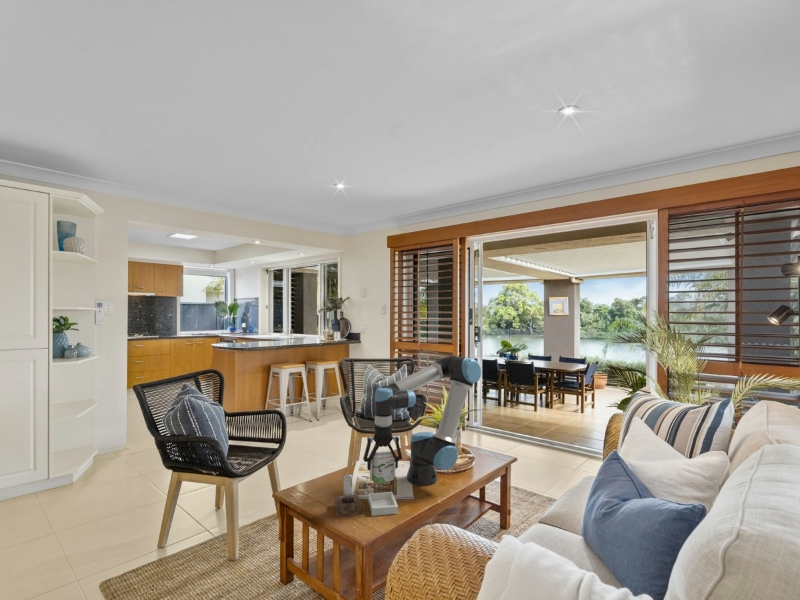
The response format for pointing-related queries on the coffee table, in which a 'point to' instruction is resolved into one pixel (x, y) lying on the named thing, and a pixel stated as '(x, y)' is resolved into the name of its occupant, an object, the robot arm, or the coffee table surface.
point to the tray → (382, 503)
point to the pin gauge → (347, 488)
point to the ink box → (382, 466)
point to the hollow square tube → (347, 506)
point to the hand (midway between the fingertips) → (382, 476)
